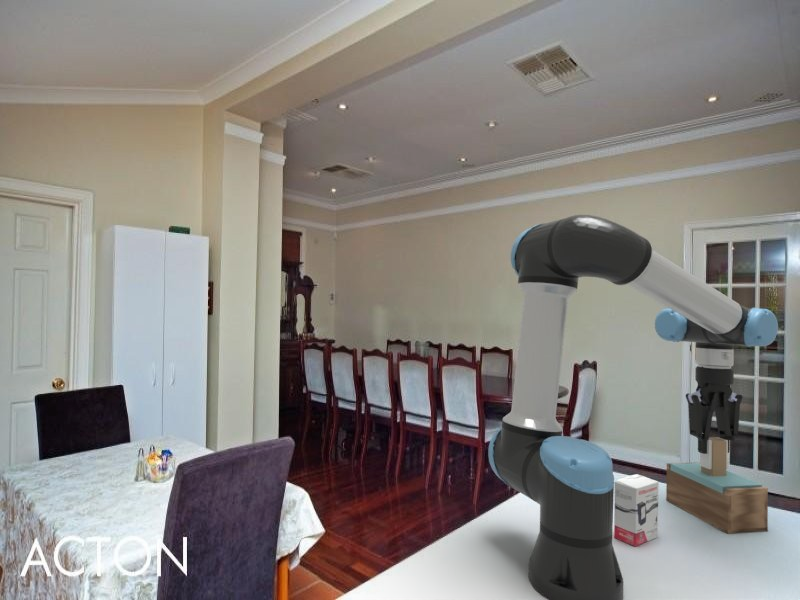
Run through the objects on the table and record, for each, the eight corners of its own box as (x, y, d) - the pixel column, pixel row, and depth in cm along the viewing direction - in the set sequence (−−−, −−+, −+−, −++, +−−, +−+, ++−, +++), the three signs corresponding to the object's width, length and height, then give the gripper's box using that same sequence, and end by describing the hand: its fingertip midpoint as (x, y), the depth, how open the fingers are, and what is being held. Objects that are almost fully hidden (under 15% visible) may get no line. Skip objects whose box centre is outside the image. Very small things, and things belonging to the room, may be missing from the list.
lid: (722, 493, 103) (723, 449, 103) (670, 469, 118) (670, 431, 118) (762, 491, 104) (762, 448, 105) (705, 468, 120) (705, 430, 120)
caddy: (727, 533, 101) (727, 490, 101) (666, 500, 119) (666, 463, 119) (767, 531, 103) (767, 488, 103) (701, 498, 121) (701, 462, 121)
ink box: (636, 547, 94) (636, 487, 94) (612, 537, 98) (613, 480, 99) (659, 537, 99) (659, 480, 99) (635, 528, 103) (636, 473, 103)
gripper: (695, 368, 107) (695, 473, 106) (758, 368, 110) (758, 471, 109) (671, 364, 114) (670, 463, 113) (730, 364, 117) (730, 460, 116)
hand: (713, 466), depth 111 cm, fingers closed on lid, 3 cm apart
